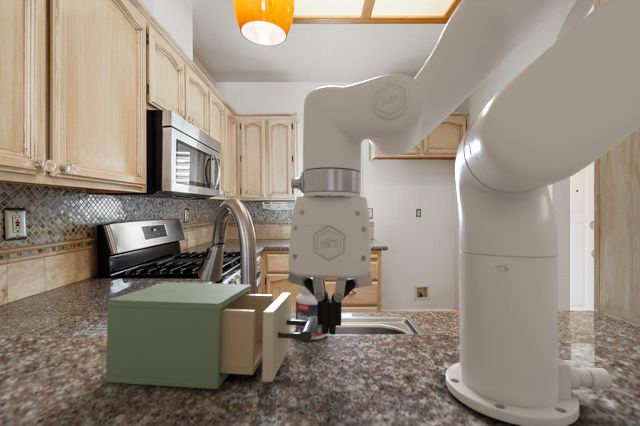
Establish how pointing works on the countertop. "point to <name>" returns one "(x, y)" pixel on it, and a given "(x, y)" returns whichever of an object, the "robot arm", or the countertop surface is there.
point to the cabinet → (169, 334)
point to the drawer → (259, 334)
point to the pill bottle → (307, 311)
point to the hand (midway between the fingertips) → (329, 330)
